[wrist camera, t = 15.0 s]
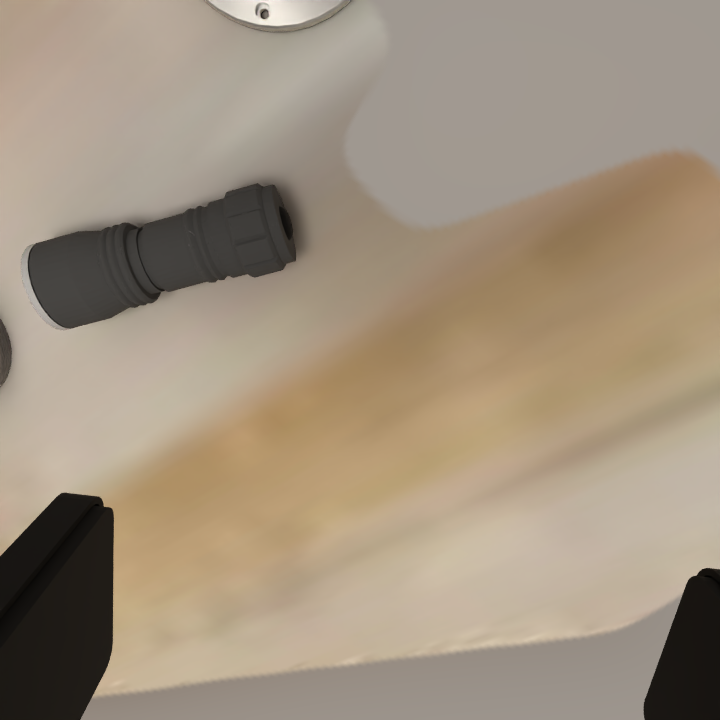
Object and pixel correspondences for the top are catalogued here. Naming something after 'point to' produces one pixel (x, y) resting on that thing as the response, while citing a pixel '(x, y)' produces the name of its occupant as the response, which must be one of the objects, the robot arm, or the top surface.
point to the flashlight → (156, 257)
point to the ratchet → (4, 353)
